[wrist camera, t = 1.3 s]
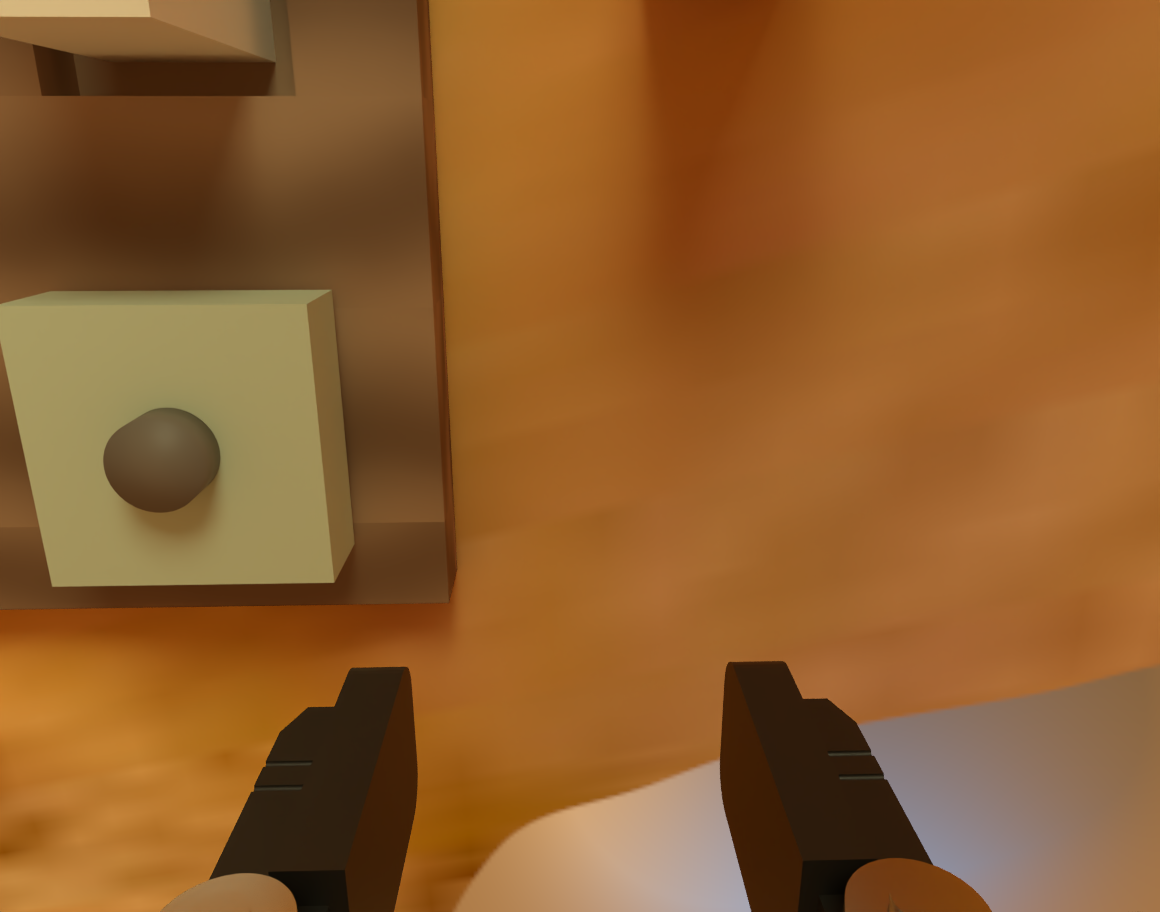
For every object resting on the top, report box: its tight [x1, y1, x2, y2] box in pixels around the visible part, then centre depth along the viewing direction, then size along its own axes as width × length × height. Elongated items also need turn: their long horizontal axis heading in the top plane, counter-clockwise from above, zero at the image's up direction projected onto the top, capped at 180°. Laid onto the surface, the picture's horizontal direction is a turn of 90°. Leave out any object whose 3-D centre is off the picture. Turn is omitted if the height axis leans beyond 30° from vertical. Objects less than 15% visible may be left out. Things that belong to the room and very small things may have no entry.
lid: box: [0, 290, 355, 587], centre depth 23 cm, size 8×8×4 cm
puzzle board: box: [0, 0, 457, 610], centre depth 25 cm, size 24×18×2 cm
